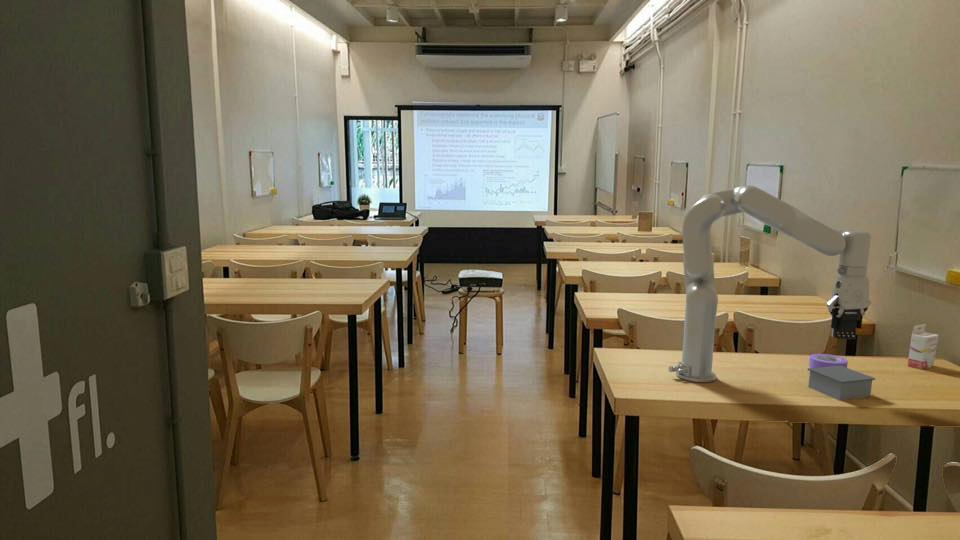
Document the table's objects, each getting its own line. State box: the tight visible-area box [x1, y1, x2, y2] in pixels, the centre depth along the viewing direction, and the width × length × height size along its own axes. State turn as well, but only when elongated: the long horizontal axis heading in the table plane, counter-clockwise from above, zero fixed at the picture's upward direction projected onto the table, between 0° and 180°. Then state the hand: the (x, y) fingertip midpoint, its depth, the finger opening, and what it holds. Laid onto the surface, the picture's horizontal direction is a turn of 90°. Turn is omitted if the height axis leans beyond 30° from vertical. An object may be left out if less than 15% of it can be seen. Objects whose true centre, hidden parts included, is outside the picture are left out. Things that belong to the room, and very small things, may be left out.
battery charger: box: [830, 305, 861, 340], centre depth 197 cm, size 7×4×11 cm, turn 88°
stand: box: [807, 365, 876, 401], centre depth 200 cm, size 13×13×6 cm
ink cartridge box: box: [907, 323, 939, 370], centre depth 227 cm, size 9×5×15 cm, turn 120°
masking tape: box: [808, 353, 848, 368], centre depth 224 cm, size 12×12×4 cm
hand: (846, 327), depth 197 cm, fingers closed on battery charger, 7 cm apart
